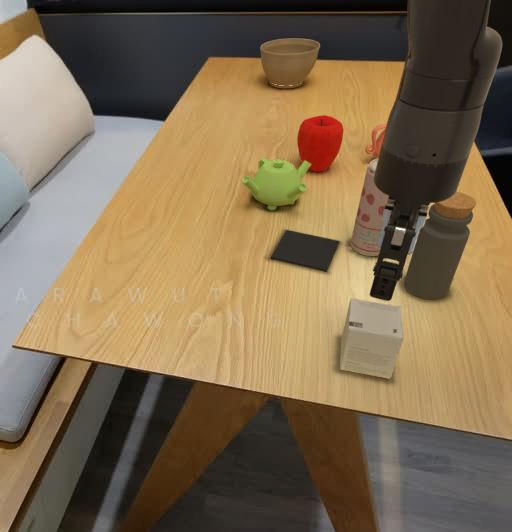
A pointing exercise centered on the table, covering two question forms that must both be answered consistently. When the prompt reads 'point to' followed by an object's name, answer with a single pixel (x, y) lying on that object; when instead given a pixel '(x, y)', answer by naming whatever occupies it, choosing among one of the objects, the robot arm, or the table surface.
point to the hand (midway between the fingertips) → (386, 275)
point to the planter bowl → (288, 60)
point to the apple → (319, 141)
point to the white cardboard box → (371, 338)
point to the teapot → (277, 182)
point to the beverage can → (369, 215)
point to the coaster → (305, 250)
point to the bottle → (440, 247)
